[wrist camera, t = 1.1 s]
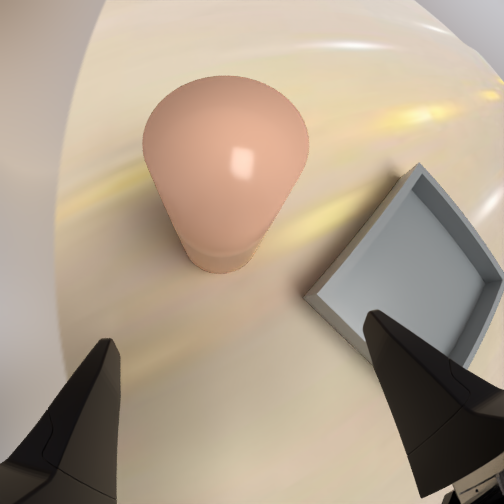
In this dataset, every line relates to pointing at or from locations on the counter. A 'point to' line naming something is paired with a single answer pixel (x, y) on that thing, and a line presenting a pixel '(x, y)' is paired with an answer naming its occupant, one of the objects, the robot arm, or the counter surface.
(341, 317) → the tray
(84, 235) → the counter surface
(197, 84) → the canister
